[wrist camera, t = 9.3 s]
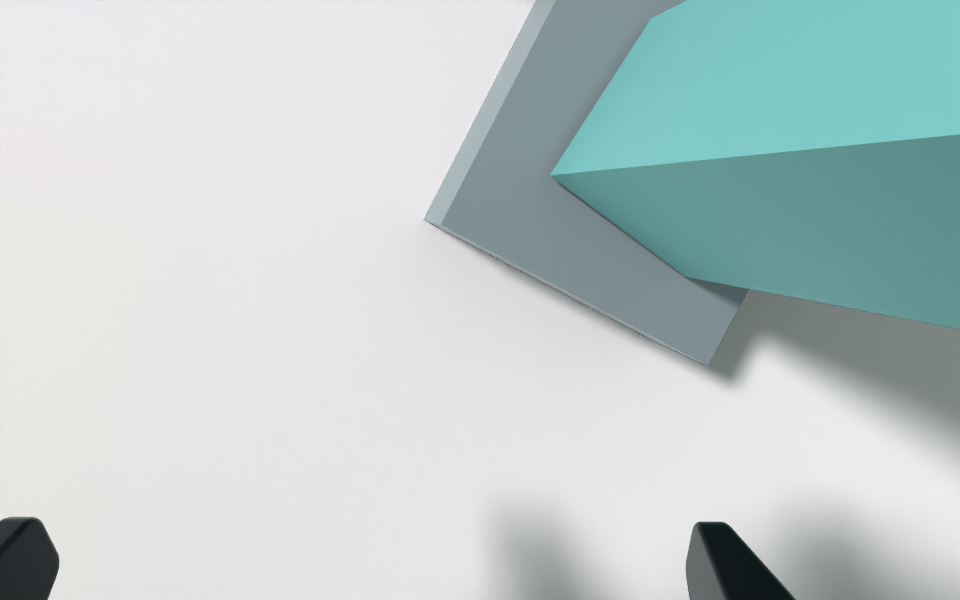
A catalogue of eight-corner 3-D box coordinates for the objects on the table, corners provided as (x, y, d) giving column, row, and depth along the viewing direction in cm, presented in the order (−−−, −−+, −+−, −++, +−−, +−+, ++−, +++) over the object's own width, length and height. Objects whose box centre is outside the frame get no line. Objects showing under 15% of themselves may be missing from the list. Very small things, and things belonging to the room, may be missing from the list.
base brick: (649, 338, 25) (708, 365, 21) (422, 219, 23) (440, 224, 19) (770, 108, 24) (853, 92, 21) (552, -37, 22) (599, -85, 18)
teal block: (685, 276, 20) (1327, 399, 8) (549, 175, 19) (1069, 123, 6) (778, 130, 20) (1555, 17, 8) (650, 18, 19) (1356, -339, 6)
